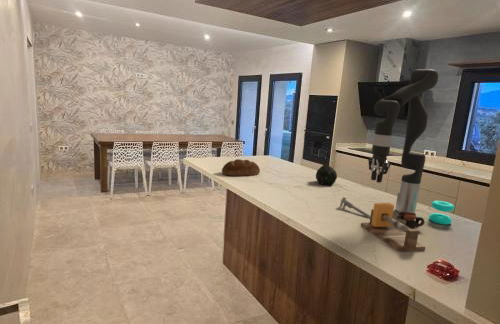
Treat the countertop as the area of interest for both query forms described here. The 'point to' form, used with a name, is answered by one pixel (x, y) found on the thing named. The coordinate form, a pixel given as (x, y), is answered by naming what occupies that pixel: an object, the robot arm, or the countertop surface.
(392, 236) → the pipe stand
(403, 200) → the robot arm
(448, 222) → the donuts
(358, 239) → the countertop surface
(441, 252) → the countertop surface
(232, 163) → the bread
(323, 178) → the squash
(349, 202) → the caliper
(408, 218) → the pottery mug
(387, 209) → the collar
